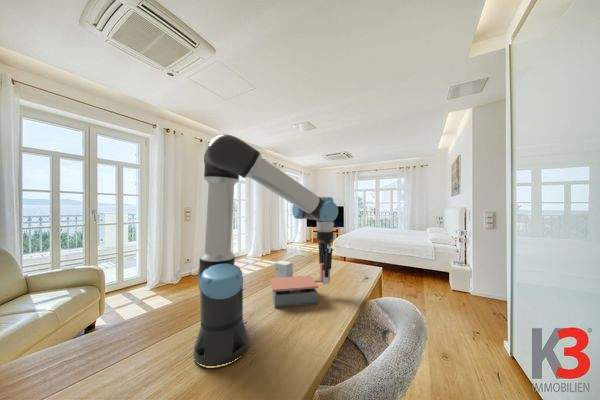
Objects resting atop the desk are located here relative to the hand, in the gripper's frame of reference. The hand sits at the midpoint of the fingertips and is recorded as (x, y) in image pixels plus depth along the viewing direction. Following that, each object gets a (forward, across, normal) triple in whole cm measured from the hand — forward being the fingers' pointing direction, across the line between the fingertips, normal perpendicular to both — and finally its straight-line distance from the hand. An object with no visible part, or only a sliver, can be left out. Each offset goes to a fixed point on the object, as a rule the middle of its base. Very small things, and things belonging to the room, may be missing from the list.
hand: (324, 282), depth 95 cm
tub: (+6, 0, +14) cm, 16 cm away
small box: (+7, +20, +16) cm, 27 cm away
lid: (0, 0, +11) cm, 11 cm away
